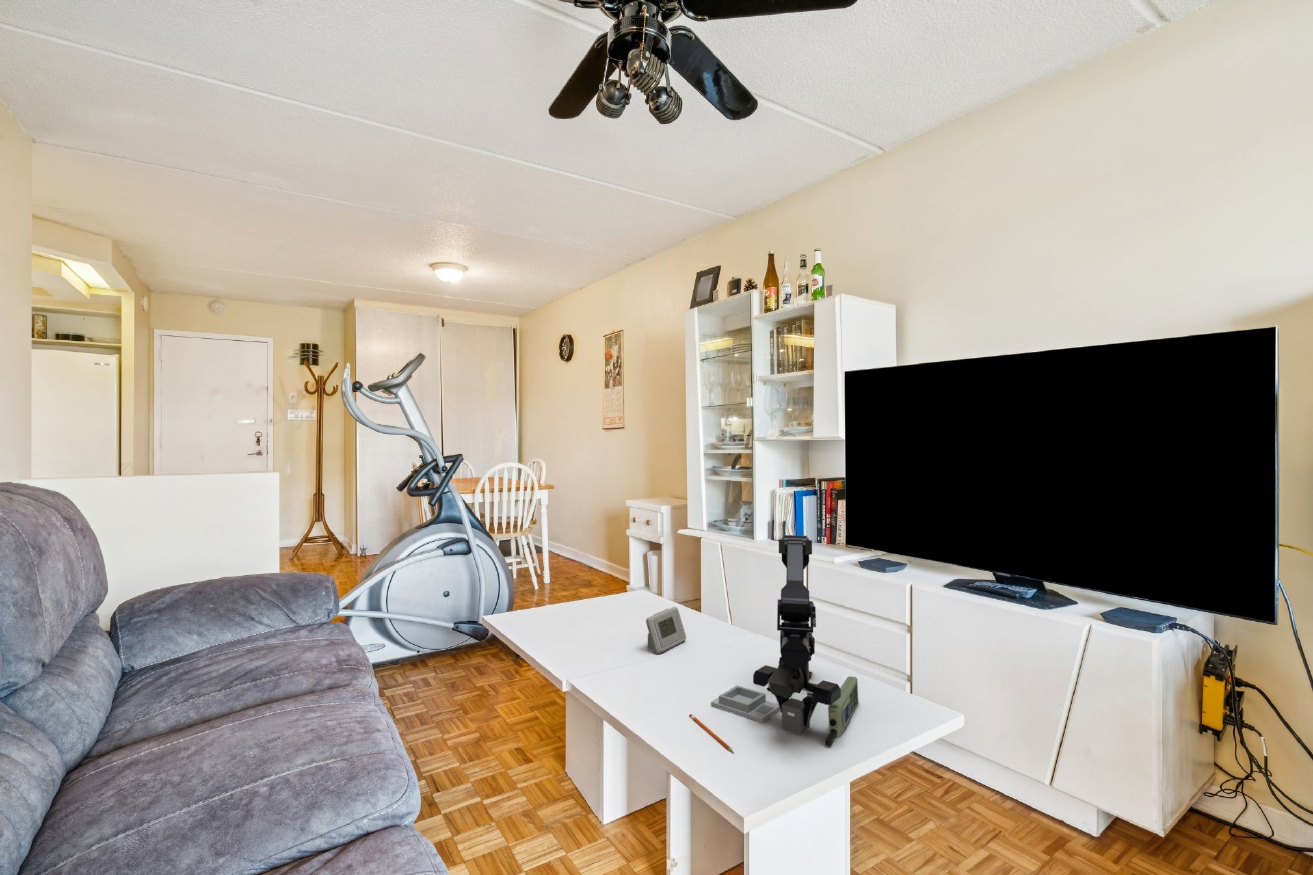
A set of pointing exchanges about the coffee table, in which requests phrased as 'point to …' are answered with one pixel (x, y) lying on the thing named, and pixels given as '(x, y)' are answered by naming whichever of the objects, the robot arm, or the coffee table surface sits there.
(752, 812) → the coffee table surface
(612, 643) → the coffee table surface
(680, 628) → the digital clock
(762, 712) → the grey charging dock
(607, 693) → the coffee table surface
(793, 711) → the block
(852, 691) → the handheld radio
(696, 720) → the pencil
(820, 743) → the coffee table surface
